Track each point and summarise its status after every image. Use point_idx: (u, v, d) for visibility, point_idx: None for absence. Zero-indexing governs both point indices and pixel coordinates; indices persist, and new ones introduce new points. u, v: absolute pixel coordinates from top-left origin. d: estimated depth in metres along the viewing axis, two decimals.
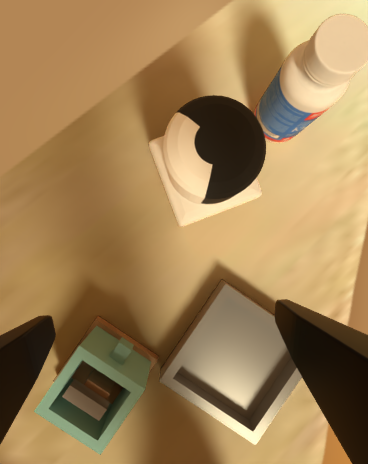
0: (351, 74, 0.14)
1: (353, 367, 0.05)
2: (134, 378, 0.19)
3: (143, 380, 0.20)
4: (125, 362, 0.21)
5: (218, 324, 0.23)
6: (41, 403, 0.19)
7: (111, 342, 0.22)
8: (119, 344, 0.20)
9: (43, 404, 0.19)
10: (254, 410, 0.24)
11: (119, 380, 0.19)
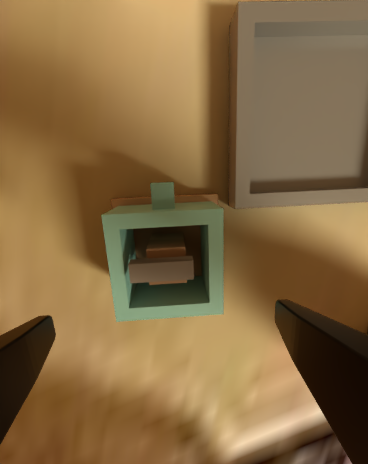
0: None
1: (353, 367, 0.05)
2: (201, 208, 0.13)
3: (214, 206, 0.13)
4: (178, 207, 0.14)
5: (264, 92, 0.15)
6: (116, 308, 0.14)
7: (147, 206, 0.15)
8: (152, 185, 0.13)
9: (119, 307, 0.14)
10: None
11: (183, 220, 0.13)
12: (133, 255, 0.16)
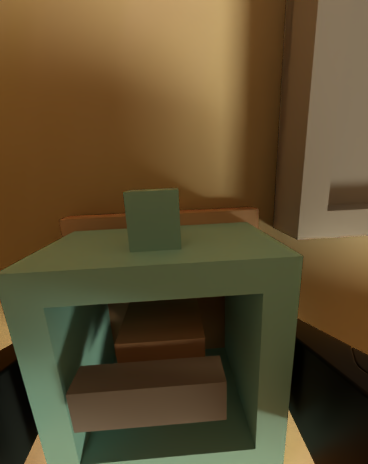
0: None
1: (315, 370, 0.05)
2: (244, 253, 0.05)
3: (271, 245, 0.06)
4: (188, 242, 0.06)
5: (359, 8, 0.07)
6: None
7: (125, 234, 0.08)
8: (129, 198, 0.05)
9: None
10: None
11: (203, 285, 0.05)
12: (102, 323, 0.09)
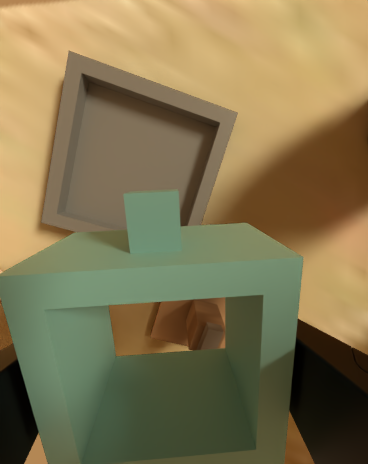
0: None
1: (315, 370, 0.05)
2: (244, 254, 0.05)
3: (272, 246, 0.06)
4: (188, 244, 0.06)
5: (107, 207, 0.18)
6: None
7: (126, 236, 0.08)
8: (129, 199, 0.06)
9: None
10: (201, 122, 0.17)
11: (203, 287, 0.05)
12: (102, 323, 0.09)
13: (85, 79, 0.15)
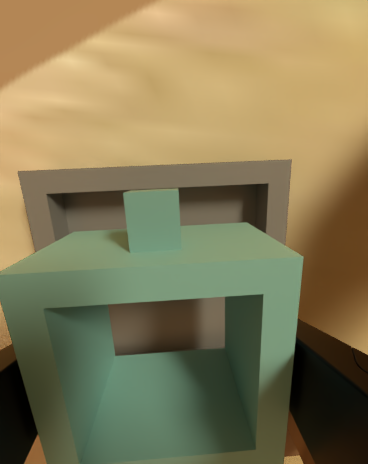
0: None
1: (315, 370, 0.05)
2: (244, 253, 0.05)
3: (272, 246, 0.06)
4: (188, 243, 0.06)
5: (141, 333, 0.13)
6: None
7: (125, 235, 0.08)
8: (129, 198, 0.05)
9: None
10: (234, 185, 0.11)
11: (203, 286, 0.05)
12: (102, 323, 0.09)
13: (55, 194, 0.10)
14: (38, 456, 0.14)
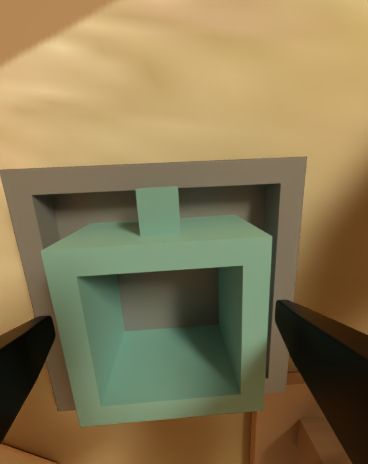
0: None
1: (353, 367, 0.05)
2: (228, 235, 0.07)
3: (251, 230, 0.07)
4: (185, 229, 0.08)
5: None
6: (79, 407, 0.08)
7: (135, 225, 0.09)
8: (139, 193, 0.07)
9: (84, 405, 0.08)
10: (241, 185, 0.10)
11: (197, 259, 0.07)
12: (114, 300, 0.10)
13: (43, 196, 0.09)
14: None
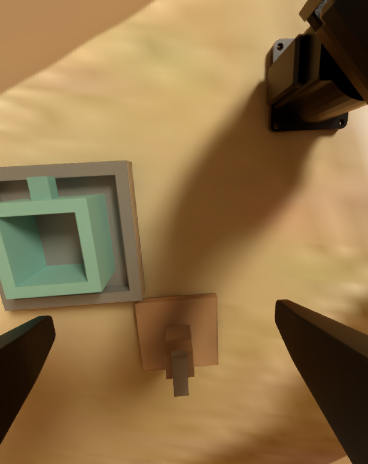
0: None
1: (353, 367, 0.05)
2: (69, 198, 0.15)
3: (85, 197, 0.15)
4: (58, 198, 0.16)
5: None
6: (4, 287, 0.16)
7: None
8: (28, 179, 0.15)
9: (7, 286, 0.16)
10: (104, 176, 0.18)
11: (52, 208, 0.15)
12: (34, 243, 0.18)
13: None
14: None
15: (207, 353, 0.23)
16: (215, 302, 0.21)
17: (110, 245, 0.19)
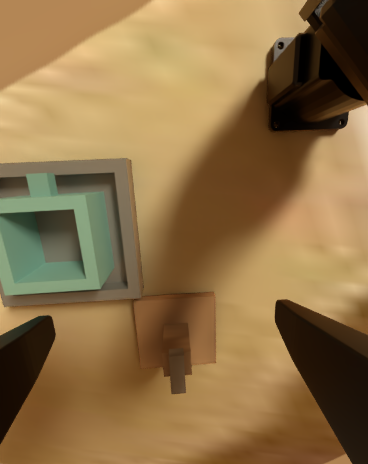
0: None
1: (353, 367, 0.05)
2: (68, 195, 0.15)
3: (84, 194, 0.15)
4: (58, 195, 0.16)
5: None
6: (3, 283, 0.16)
7: None
8: (28, 176, 0.15)
9: (5, 282, 0.16)
10: (104, 174, 0.18)
11: (51, 205, 0.15)
12: (33, 239, 0.18)
13: None
14: None
15: (205, 351, 0.23)
16: (213, 301, 0.21)
17: (109, 243, 0.19)
